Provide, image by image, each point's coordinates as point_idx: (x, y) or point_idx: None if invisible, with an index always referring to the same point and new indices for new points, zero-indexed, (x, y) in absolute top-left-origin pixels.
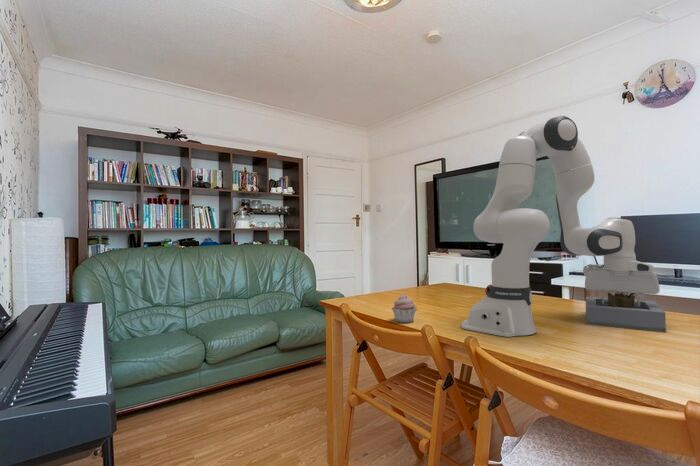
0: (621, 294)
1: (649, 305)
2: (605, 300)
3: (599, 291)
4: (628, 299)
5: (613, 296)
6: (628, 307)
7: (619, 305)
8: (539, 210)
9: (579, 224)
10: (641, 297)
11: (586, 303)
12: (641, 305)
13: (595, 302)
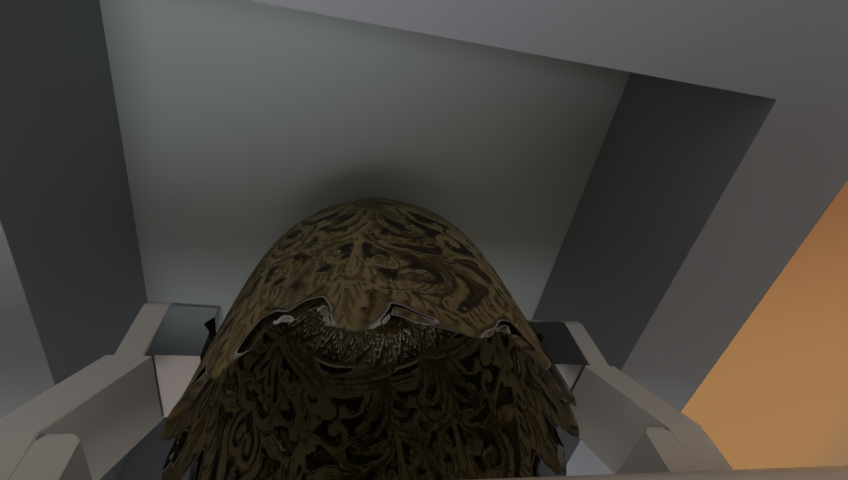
0: None
1: (14, 355)
2: (566, 351)
3: (717, 469)
4: (293, 296)
5: (537, 343)
6: (307, 228)
7: (426, 228)
8: None
9: None
10: (39, 417)
11: (808, 223)
12: (150, 474)
13: (654, 321)
